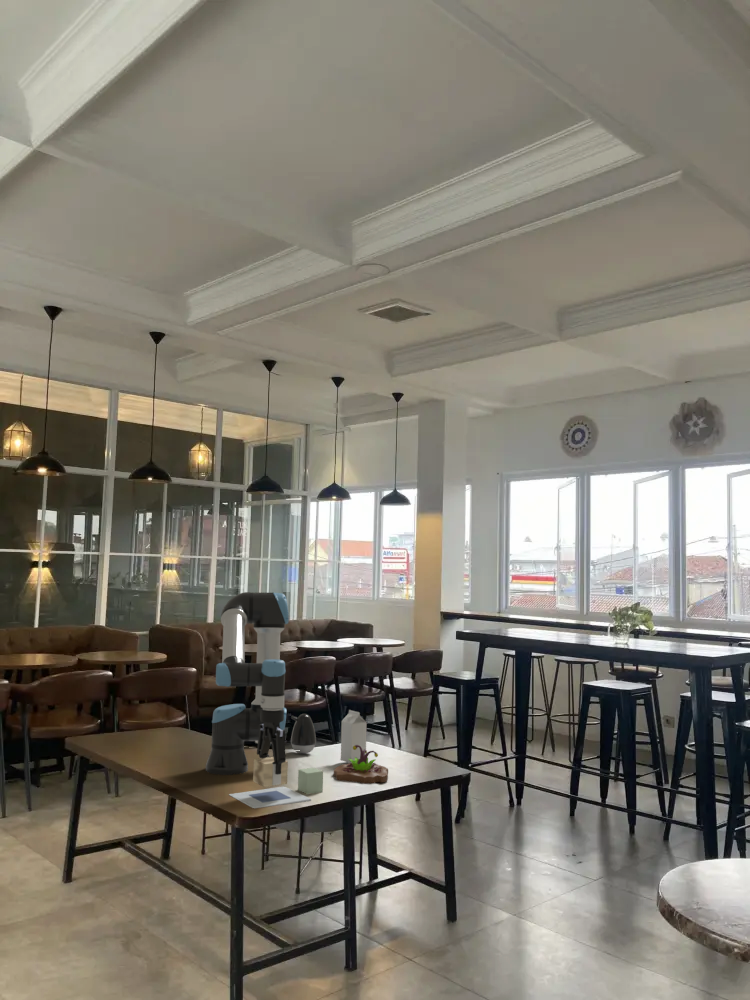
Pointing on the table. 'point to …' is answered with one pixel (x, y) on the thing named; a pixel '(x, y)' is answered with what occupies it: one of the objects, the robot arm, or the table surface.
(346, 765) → the plant
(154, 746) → the table surface
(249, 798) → the blueprint mat
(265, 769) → the maple block
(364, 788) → the table surface
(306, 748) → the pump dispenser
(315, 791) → the sage block
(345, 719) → the milk carton
